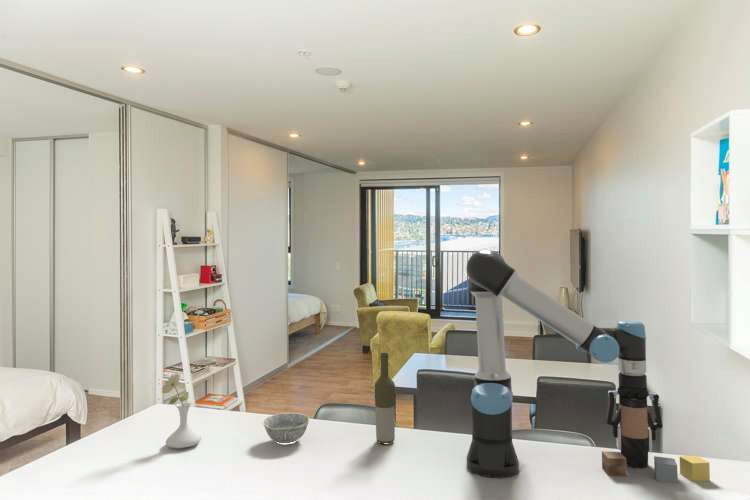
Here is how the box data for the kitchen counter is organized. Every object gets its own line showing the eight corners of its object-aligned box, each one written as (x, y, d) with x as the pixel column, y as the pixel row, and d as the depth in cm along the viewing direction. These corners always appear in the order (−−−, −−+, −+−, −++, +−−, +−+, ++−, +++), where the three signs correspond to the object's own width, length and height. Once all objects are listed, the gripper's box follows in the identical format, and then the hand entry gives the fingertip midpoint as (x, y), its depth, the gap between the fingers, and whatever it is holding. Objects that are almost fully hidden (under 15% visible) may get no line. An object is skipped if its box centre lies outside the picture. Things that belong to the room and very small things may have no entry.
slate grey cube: (656, 481, 136) (656, 462, 136) (654, 473, 141) (654, 456, 141) (677, 484, 134) (677, 465, 134) (674, 476, 139) (674, 458, 139)
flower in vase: (188, 436, 175) (188, 366, 175) (208, 443, 168) (208, 370, 169) (154, 448, 164) (153, 373, 165) (173, 456, 157) (173, 377, 158)
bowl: (306, 450, 161) (305, 427, 161) (257, 451, 161) (257, 427, 161) (312, 433, 177) (312, 412, 177) (268, 433, 177) (268, 412, 177)
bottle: (377, 437, 172) (376, 351, 172) (397, 438, 170) (396, 351, 171) (373, 445, 165) (372, 355, 165) (394, 446, 163) (392, 355, 164)
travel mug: (652, 469, 143) (651, 400, 144) (624, 467, 145) (622, 399, 145) (644, 459, 151) (642, 393, 151) (617, 457, 152) (615, 392, 153)
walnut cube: (608, 475, 140) (608, 458, 140) (602, 468, 144) (601, 451, 145) (626, 476, 139) (626, 458, 139) (619, 469, 144) (619, 451, 144)
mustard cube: (692, 481, 135) (692, 463, 135) (680, 473, 140) (679, 456, 140) (709, 480, 136) (709, 462, 136) (696, 473, 141) (696, 455, 141)
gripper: (597, 374, 147) (599, 450, 147) (674, 377, 142) (676, 457, 141) (593, 368, 155) (595, 441, 154) (666, 371, 149) (668, 447, 149)
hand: (634, 449), depth 148 cm, fingers closed on travel mug, 8 cm apart
